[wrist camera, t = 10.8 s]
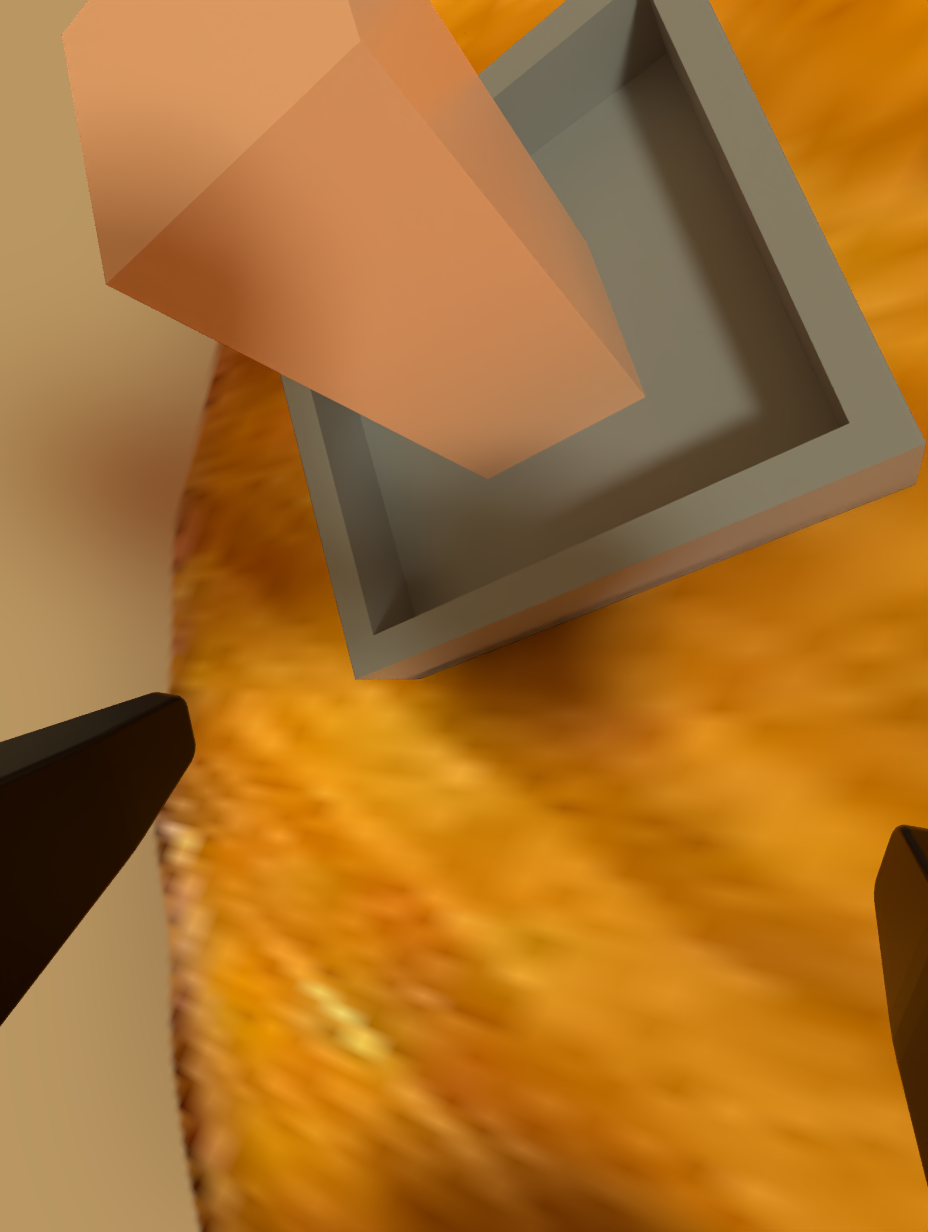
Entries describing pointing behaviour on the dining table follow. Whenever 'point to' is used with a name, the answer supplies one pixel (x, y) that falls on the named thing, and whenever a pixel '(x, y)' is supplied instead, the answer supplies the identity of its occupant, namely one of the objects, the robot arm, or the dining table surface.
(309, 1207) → the dining table surface
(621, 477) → the tote
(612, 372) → the carton
